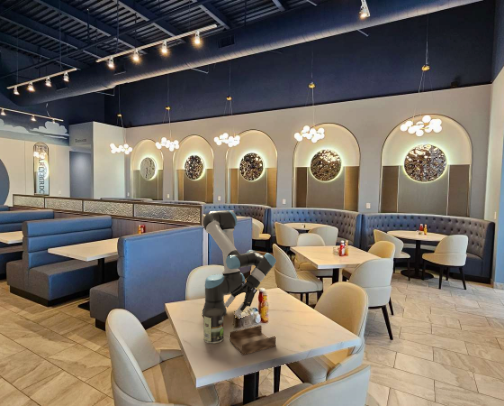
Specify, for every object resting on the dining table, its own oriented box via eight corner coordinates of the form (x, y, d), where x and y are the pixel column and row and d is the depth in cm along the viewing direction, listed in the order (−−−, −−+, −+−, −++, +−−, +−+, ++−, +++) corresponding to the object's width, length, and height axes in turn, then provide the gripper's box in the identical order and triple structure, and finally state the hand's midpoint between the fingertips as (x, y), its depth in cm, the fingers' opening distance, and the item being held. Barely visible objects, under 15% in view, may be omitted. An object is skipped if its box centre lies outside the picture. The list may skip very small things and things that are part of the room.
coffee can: (226, 334, 157) (226, 308, 157) (220, 344, 147) (220, 316, 147) (207, 333, 159) (207, 307, 159) (200, 342, 149) (200, 315, 149)
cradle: (260, 332, 160) (260, 324, 160) (275, 346, 146) (275, 337, 146) (229, 340, 151) (229, 331, 151) (242, 355, 138) (242, 345, 138)
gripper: (271, 288, 153) (246, 323, 147) (249, 276, 175) (226, 306, 168) (262, 280, 150) (236, 315, 144) (241, 269, 172) (217, 299, 166)
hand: (230, 310), depth 156 cm, fingers open, 13 cm apart
